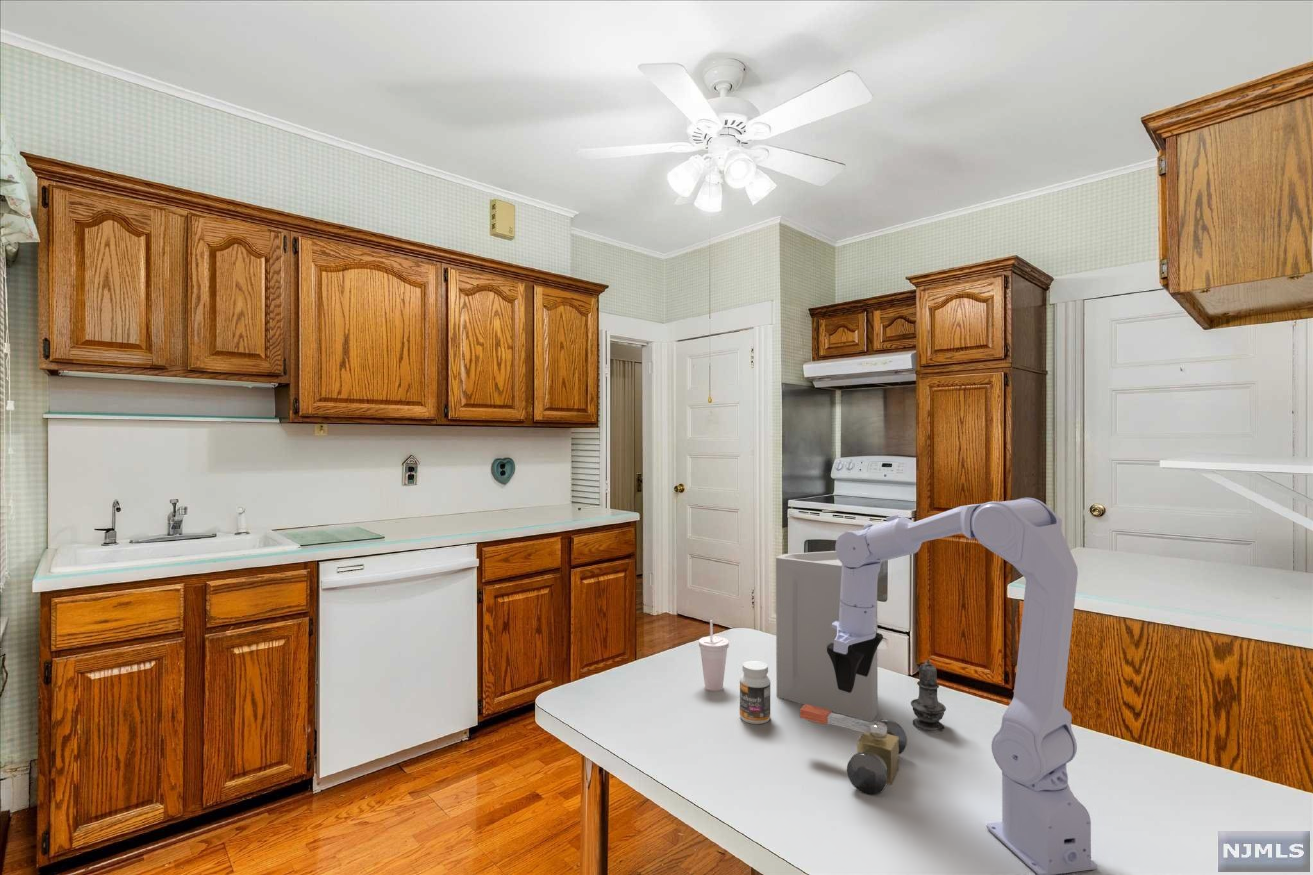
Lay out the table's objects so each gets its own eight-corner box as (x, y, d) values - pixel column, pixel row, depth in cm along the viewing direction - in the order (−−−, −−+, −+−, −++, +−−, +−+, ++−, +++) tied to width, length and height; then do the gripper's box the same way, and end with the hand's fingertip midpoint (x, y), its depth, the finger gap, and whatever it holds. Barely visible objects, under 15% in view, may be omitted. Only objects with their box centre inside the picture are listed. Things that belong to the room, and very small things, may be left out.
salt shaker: (950, 734, 108) (949, 666, 108) (914, 731, 109) (914, 663, 109) (941, 719, 114) (941, 654, 114) (907, 716, 115) (907, 652, 115)
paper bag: (893, 693, 125) (892, 556, 125) (871, 721, 113) (870, 569, 113) (803, 673, 136) (803, 546, 136) (774, 696, 124) (774, 557, 124)
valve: (885, 800, 88) (885, 761, 88) (846, 788, 92) (846, 750, 92) (906, 757, 100) (906, 723, 100) (871, 748, 103) (871, 714, 103)
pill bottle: (735, 721, 113) (735, 667, 113) (745, 708, 118) (745, 657, 118) (765, 727, 111) (764, 672, 111) (774, 715, 116) (774, 662, 116)
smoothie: (693, 684, 130) (692, 618, 130) (719, 678, 133) (719, 614, 133) (708, 695, 124) (707, 626, 124) (735, 690, 127) (734, 622, 127)
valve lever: (888, 733, 96) (888, 724, 96) (884, 740, 94) (884, 730, 94) (805, 712, 104) (805, 703, 104) (799, 717, 101) (799, 709, 101)
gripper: (850, 587, 110) (845, 661, 111) (817, 607, 98) (812, 689, 99) (890, 596, 106) (885, 673, 106) (861, 618, 94) (856, 704, 95)
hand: (853, 682), depth 102 cm, fingers open, 7 cm apart
